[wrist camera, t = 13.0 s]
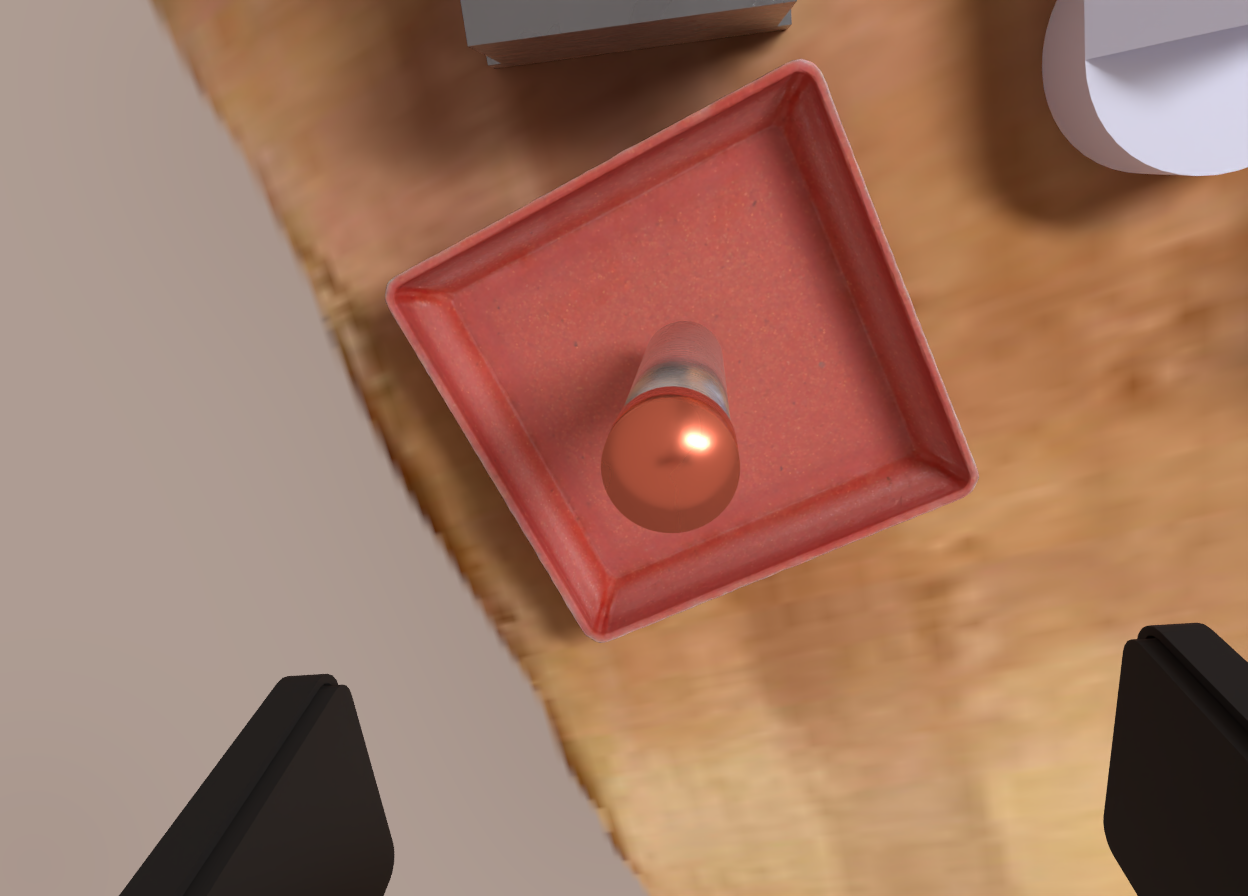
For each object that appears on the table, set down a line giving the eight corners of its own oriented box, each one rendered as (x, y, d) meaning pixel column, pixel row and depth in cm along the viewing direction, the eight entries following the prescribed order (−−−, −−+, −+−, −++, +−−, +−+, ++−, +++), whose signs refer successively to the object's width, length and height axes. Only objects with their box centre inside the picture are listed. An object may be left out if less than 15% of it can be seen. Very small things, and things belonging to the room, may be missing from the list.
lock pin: (637, 323, 31) (591, 408, 18) (721, 313, 30) (733, 393, 18) (647, 404, 32) (610, 538, 19) (729, 395, 31) (746, 527, 19)
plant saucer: (962, 462, 35) (989, 491, 32) (598, 612, 39) (591, 652, 36) (799, 57, 30) (813, 46, 27) (401, 275, 34) (373, 287, 31)
